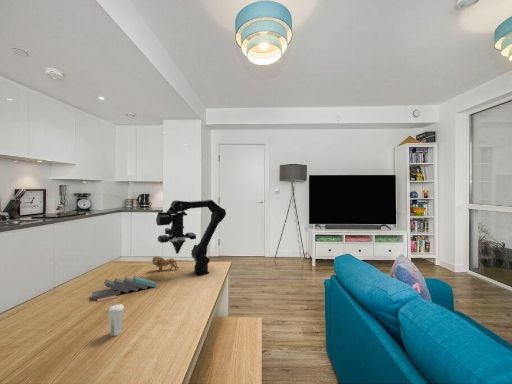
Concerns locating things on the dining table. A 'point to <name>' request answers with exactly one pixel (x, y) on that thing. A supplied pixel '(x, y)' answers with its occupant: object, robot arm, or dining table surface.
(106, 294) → the domino
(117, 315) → the milkshake
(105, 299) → the strip
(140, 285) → the domino
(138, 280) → the domino
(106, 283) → the domino
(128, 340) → the dining table surface
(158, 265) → the lion figurine
